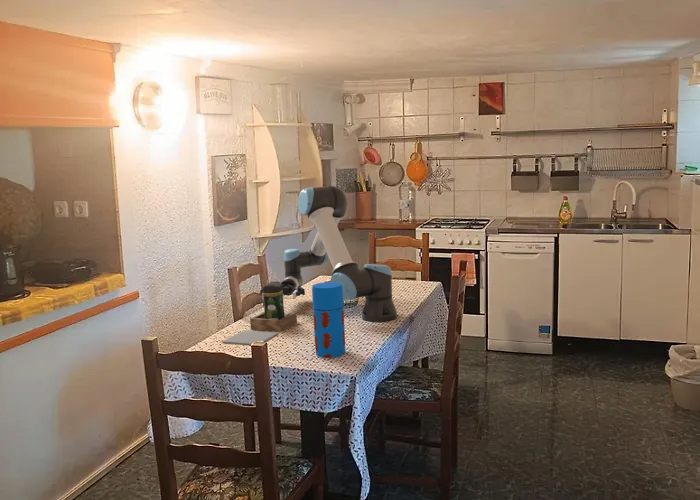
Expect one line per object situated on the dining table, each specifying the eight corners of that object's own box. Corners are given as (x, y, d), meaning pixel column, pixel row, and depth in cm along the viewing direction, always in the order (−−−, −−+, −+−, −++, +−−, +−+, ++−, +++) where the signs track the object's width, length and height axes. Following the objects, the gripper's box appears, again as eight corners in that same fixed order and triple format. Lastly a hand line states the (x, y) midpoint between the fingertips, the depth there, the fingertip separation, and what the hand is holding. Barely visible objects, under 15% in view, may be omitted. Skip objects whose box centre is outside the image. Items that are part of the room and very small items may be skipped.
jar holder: (297, 322, 287) (296, 312, 286) (281, 331, 274) (280, 320, 273) (267, 320, 292) (266, 310, 292) (250, 329, 279) (250, 318, 279)
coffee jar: (269, 322, 289) (266, 280, 286) (287, 322, 288) (284, 280, 285) (262, 328, 280) (259, 284, 277) (280, 328, 278) (278, 284, 275)
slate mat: (278, 334, 270) (278, 332, 270) (258, 345, 255) (258, 344, 255) (243, 331, 276) (243, 330, 276) (222, 342, 261) (222, 341, 261)
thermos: (341, 358, 235) (338, 288, 231) (312, 357, 237) (308, 288, 234) (348, 349, 246) (344, 281, 242) (319, 348, 248) (316, 282, 244)
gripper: (315, 293, 311) (307, 304, 290) (263, 294, 314) (251, 305, 294) (314, 277, 310) (306, 287, 289) (262, 278, 313) (249, 288, 292)
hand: (278, 296), depth 291 cm, fingers open, 13 cm apart
